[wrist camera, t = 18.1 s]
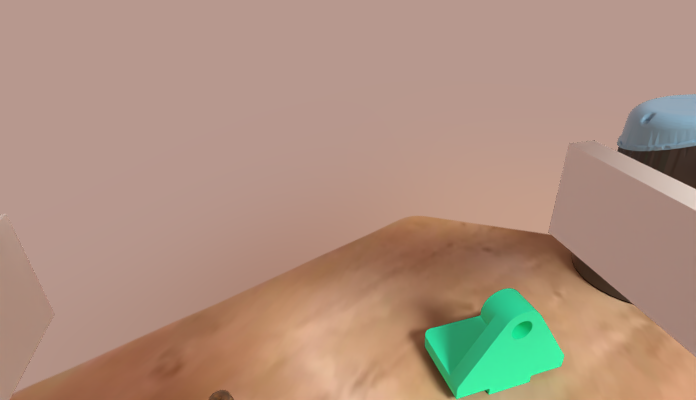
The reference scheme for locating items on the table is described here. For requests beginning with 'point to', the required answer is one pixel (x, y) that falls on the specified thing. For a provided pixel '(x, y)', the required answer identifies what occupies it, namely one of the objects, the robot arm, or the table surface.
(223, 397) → the hand bell
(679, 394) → the table surface
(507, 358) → the camera mount
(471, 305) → the table surface
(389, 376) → the table surface
